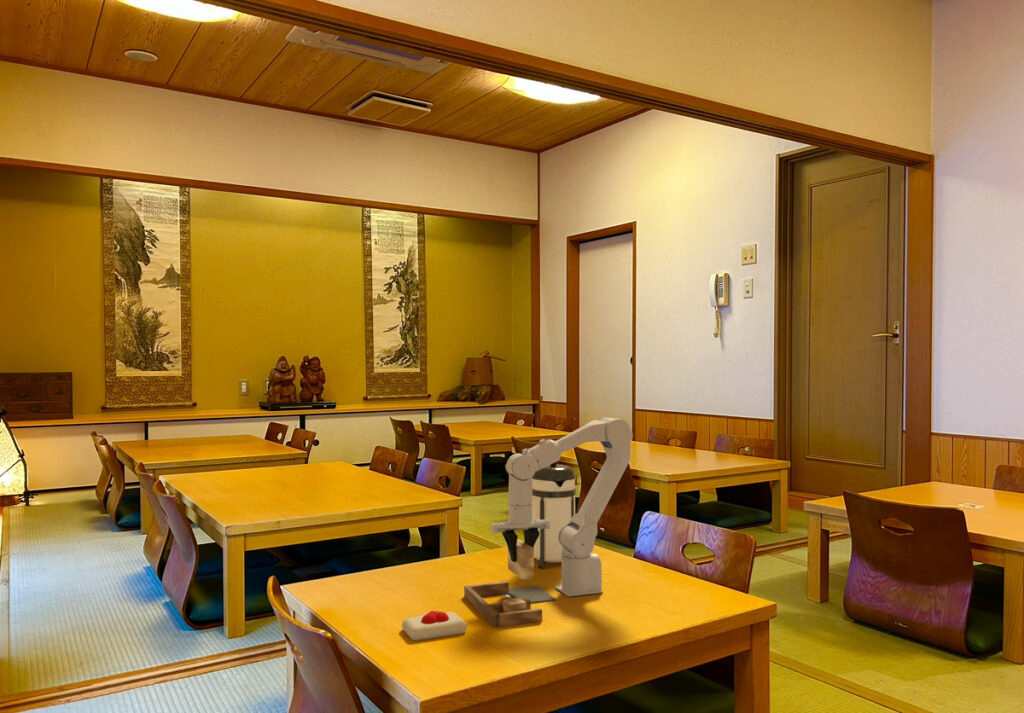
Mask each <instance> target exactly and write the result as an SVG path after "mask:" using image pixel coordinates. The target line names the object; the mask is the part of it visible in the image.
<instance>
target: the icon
mask: <svg viewBox="0 0 1024 713" xmlns="http://www.w3.org/2000/svg"><path fill="white" fill-rule="evenodd" d="M401 626H402V627H401V628H402V630H403V631H404V633H406V635H407V636H408V637H409V638H410V639H411V640H412V641H413V642H415V641H416V642H417V641H422V640H423V641H424V640H430V639H435V638H443V637H449V636H455V635H462V634H464V633H465V632H466V631H467V629H468V628H467V623H466V621H465V620H464V619H462V618H461V617H460V616H458V615H457V614H456V613H455V612H453V611H449V612H444V611H437V610H430V611H428V612H425V613H424V614H421V615H419V616H415V617H407V618H405V619H403V621H402V624H401Z"/></svg>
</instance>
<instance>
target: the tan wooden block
mask: <svg viewBox="0 0 1024 713" xmlns="http://www.w3.org/2000/svg"><path fill="white" fill-rule="evenodd" d="M516 552H517V559H516V562H513V561H511V557H510V552H509V549H508V548H507V569H508V570H509V571H510V572H511V573H513V574H514V575H515V576H517V577H518V578H520V579H521V580H522V581H523V580H532V579H535V560H534V558H535V557H534V548H532V547H531V546H529V545H527V544H526V543H525V541H524V540H523V541H522V540H521V539H517V547H516Z"/></svg>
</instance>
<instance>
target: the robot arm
mask: <svg viewBox="0 0 1024 713" xmlns="http://www.w3.org/2000/svg"><path fill="white" fill-rule="evenodd" d="M633 436H634V434H633V432H632V429H631V427H630V424H629V423H628V422H627V421H626V420H624V419H621V418H612V417H609V416H601V417H599V418H598V419H594V420H591V421H589V422H588V423H586V424H584V425H583V426H581V427H579V428H577V429H575V430H574V431H572V432H570V433H568V434H566V435H565V436H563V437H561V438H559V439H557V440H553V439H549V438H548V439H544V438H542V439H540V440H539V443H538V444H536V445H534V446H532V447H529V448H526V447H525V448H524V449H522V453H514V454H512V455H511V456H509V458H508V459H507V461H506V464H505V465H504V466H505V468H504V469H505V471H506V472H507V474H508V520H507V521H502V522H495V523H490V532H491V533H492V534H497V533H501V535H502V537H503V539H504V541H505V543H506V546H507V550H508V549H509V552H510V557H511V561H513V562H516V559H517V552H516V547H517V540H518V538H519V537H518V534H516V531H517V532H518V531H522V532H523V538H524V540H523V542H524V543H526V544H527V545H529V546H531V547H532V548H533V547H534V545H535V542H536V540H537V538H538V537H539V531H538V529H543V528H545V529H550V521H549V520H547V519H545V520H532V477H533V475H534V474H535V471H539V470H541V469H543V468H544V467H546V466H548V465H550V464H552V463H554V462H556V461H557V462H559V460H560V459H561V457H562V454H563V453H565V452H567V451H570V450H572V449H574V448H576V447H578V446H581V445H583V444H586V443H589V442H591V441H595V442H599V443H600V444H601V446H602V447H603V450H604V452H605V456H606V459H605V461H604V462H603V465H602V467H601V468H600V470H599V472H598V474H597V476H596V478H595V480H594V482H593V483H592V485H591V488H590V489H589V490H588V492H587V495H586V497H585V499H584V501H583V502H582V504H581V506H580V508H579V510H578V512H577V513H575V515H574V516H573V517H571V519H570V520H569V522H568V523H567V524H566V525H565V526H564V527H562V529H561V530H560V532H559V535H558V539H559V543H560V544H561V546H562V547H563V550H562V562H561V584H560V585H556V586H555V589H556V590H558V591H560V592H561V593H562V594H564V595H565V596H567V597H577V596H578V597H579V596H585V595H593V594H602V593H603V592H604V590H603V587H602V586H603V585H602V583H603V581H602V578H603V577H602V576H603V575H602V571H603V570H602V561H601V558H600V556H599V555H598V554H597V553H593V551H594V548H595V540H596V537H597V535H598V522H599V520H600V518H601V516H602V514H603V513H604V511H605V509H606V507H607V505H608V503H609V501H610V499H611V498H612V495H613V494H614V491H615V490H616V488H617V487H618V484H619V482H620V481H621V478H622V476H623V474H624V472H625V471H626V469H627V468H628V465H629V464H630V461H631V442H632V440H633ZM557 462H556V463H557Z"/></svg>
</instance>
